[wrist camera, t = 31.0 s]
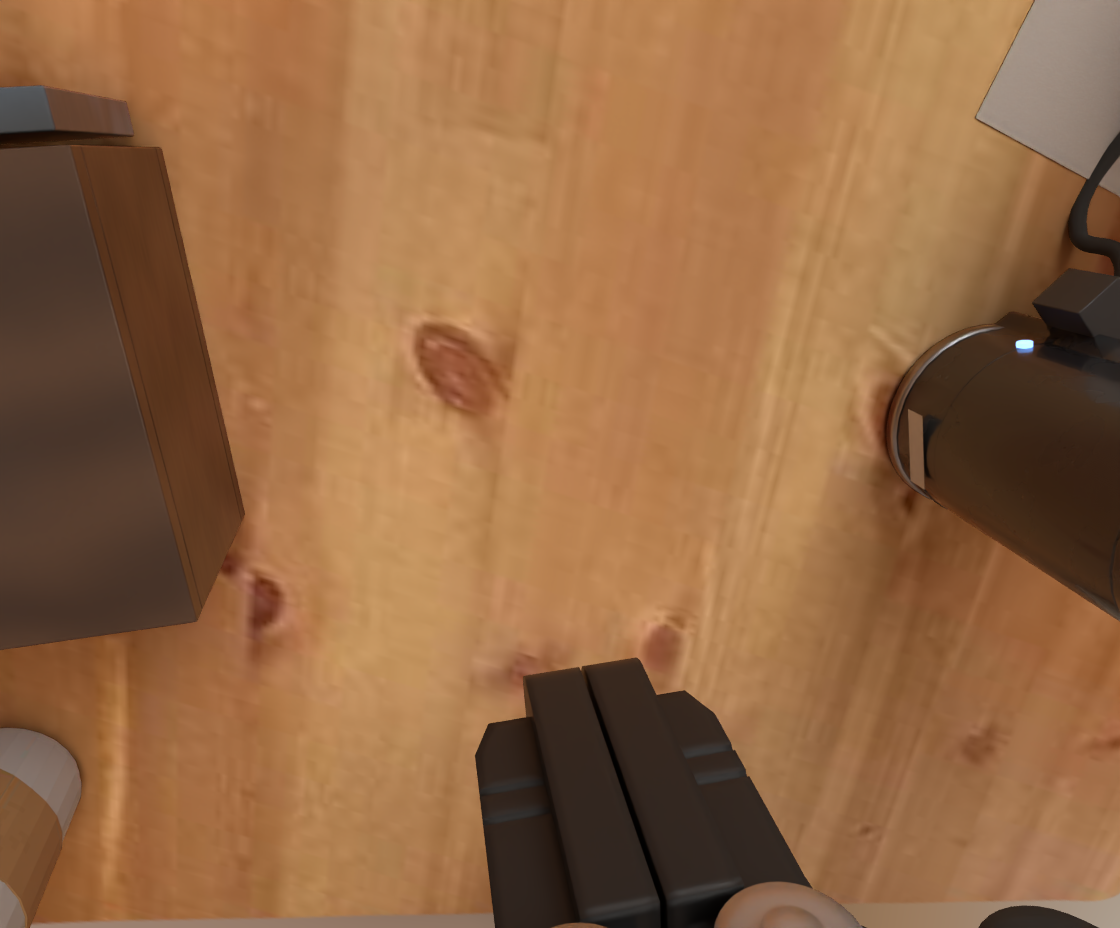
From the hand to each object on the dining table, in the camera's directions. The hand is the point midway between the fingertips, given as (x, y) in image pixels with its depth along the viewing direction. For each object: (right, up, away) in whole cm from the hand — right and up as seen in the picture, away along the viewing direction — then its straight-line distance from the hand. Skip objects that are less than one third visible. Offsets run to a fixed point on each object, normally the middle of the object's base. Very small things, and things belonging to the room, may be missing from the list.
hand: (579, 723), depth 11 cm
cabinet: (-21, +8, +22) cm, 32 cm away
